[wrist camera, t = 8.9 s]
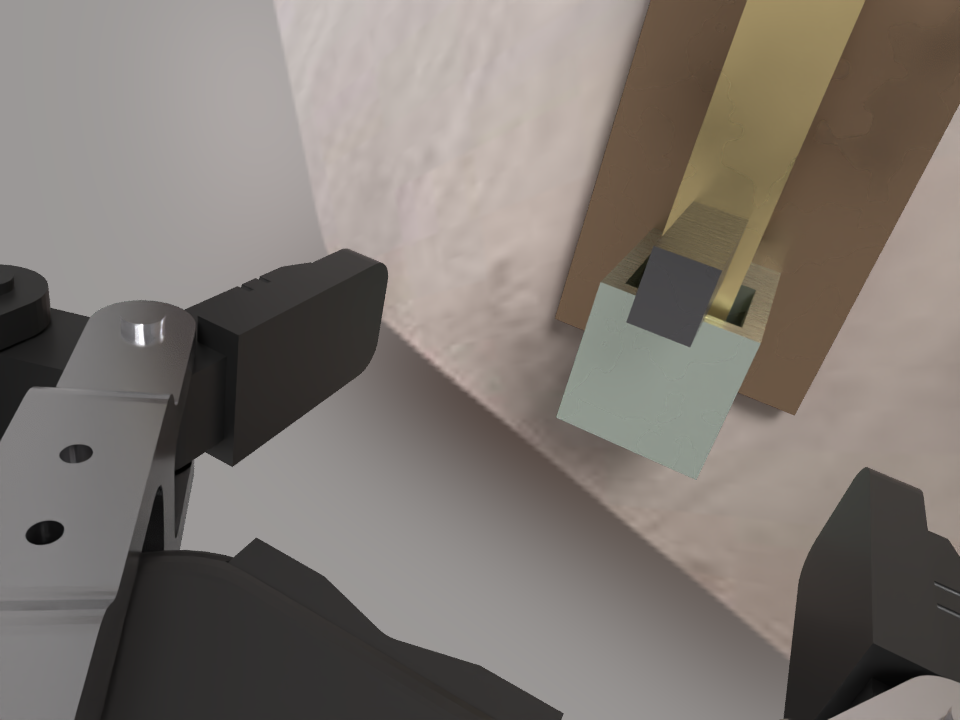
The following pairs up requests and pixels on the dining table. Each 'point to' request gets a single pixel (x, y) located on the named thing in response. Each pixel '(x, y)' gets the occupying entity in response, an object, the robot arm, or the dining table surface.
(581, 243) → the multicoloured piece
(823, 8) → the rod
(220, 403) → the robot arm
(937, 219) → the dining table surface
